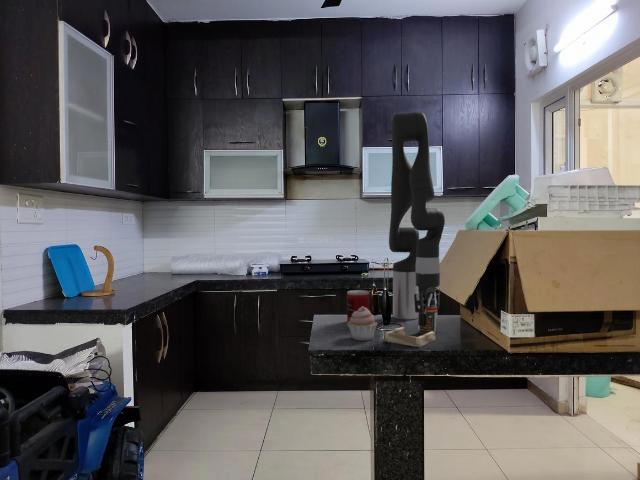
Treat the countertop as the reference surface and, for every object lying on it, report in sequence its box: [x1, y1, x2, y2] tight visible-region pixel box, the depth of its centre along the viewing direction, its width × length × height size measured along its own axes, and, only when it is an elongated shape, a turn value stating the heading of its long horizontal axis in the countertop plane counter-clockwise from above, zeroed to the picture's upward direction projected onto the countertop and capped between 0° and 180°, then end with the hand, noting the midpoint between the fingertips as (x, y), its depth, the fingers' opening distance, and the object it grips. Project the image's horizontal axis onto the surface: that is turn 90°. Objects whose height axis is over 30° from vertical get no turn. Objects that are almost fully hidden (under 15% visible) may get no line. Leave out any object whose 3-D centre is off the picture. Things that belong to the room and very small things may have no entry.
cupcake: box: [346, 306, 378, 342], centre depth 154 cm, size 9×9×10 cm
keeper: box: [384, 326, 436, 348], centre depth 151 cm, size 10×11×2 cm
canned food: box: [346, 289, 370, 323], centre depth 177 cm, size 8×8×11 cm
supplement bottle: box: [417, 298, 438, 336], centre depth 160 cm, size 6×6×11 cm
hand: (427, 323), depth 160 cm, fingers closed on supplement bottle, 6 cm apart
